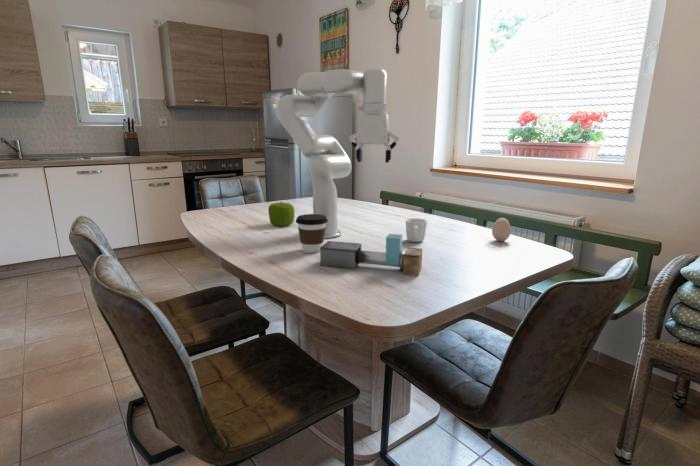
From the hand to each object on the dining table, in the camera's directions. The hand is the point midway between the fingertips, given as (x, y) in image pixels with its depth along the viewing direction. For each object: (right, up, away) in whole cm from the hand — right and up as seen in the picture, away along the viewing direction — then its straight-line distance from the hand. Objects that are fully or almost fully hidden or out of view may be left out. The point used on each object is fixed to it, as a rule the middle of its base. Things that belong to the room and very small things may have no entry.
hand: (373, 161), depth 136 cm
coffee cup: (-21, -31, +3) cm, 37 cm away
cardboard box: (+11, -36, -17) cm, 41 cm away
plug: (+2, -35, -14) cm, 38 cm away
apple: (-38, -21, +40) cm, 59 cm away
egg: (+49, -28, +16) cm, 59 cm away
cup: (+17, -28, +15) cm, 36 cm away
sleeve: (-11, -34, -11) cm, 37 cm away
